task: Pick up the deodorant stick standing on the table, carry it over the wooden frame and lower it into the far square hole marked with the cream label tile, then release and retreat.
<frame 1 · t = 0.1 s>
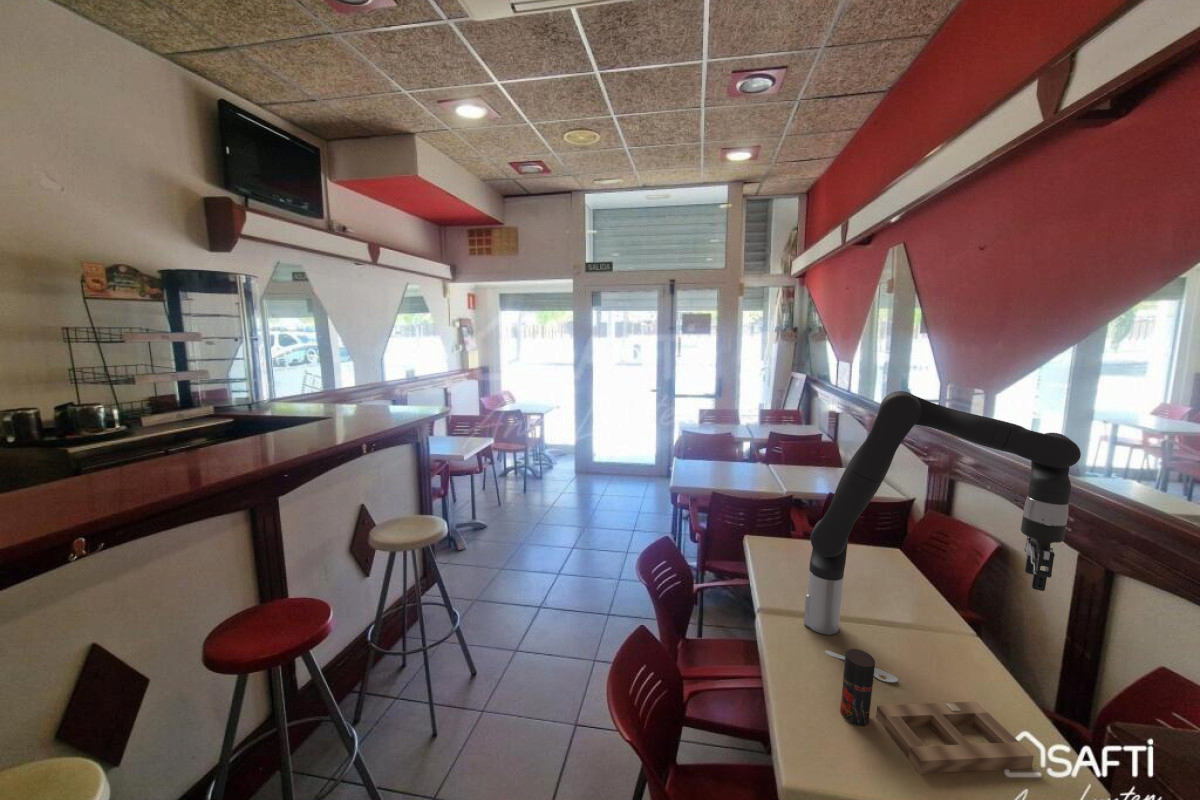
hand: (1034, 581, 113), 29 cm above the table, fingers open, 8 cm apart
spoon: (853, 666, 126), on the table
wooden frame: (949, 740, 102), on the table
deodorant: (854, 716, 109), on the table
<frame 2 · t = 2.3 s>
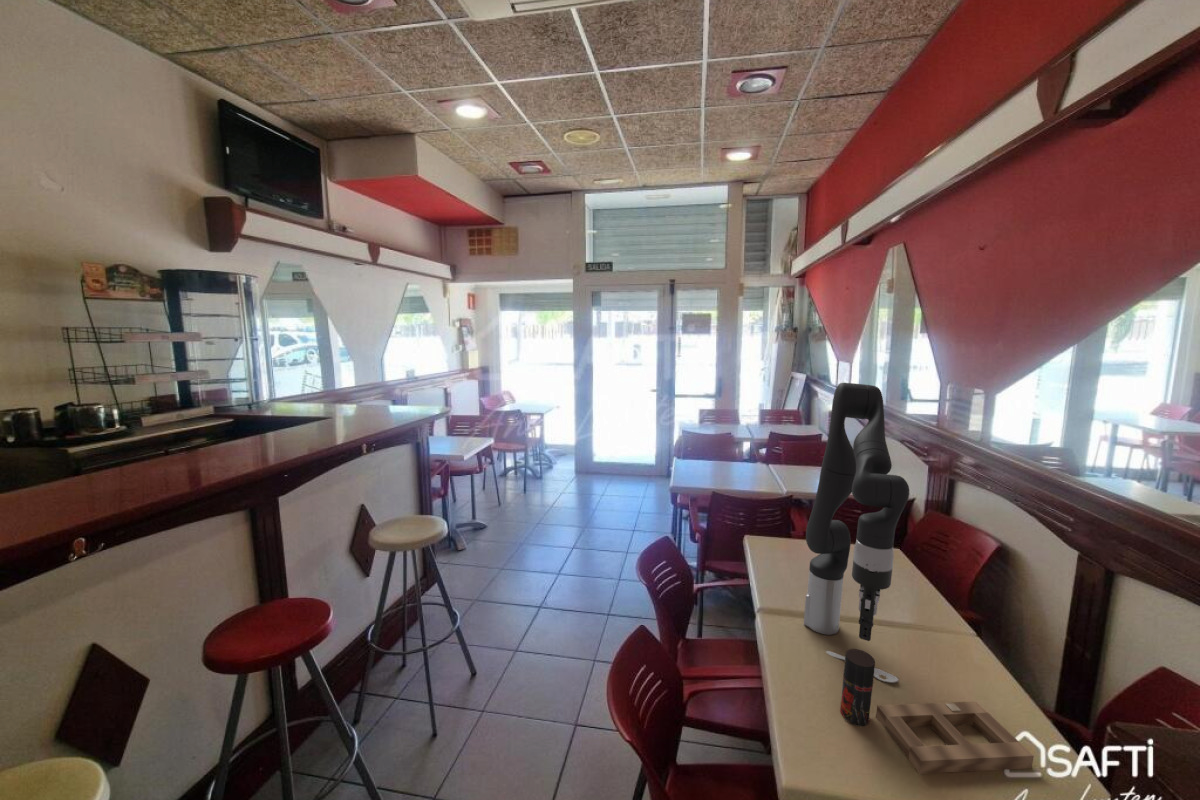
hand: (866, 628, 106), 22 cm above the table, fingers open, 8 cm apart
nothing on the table moved.
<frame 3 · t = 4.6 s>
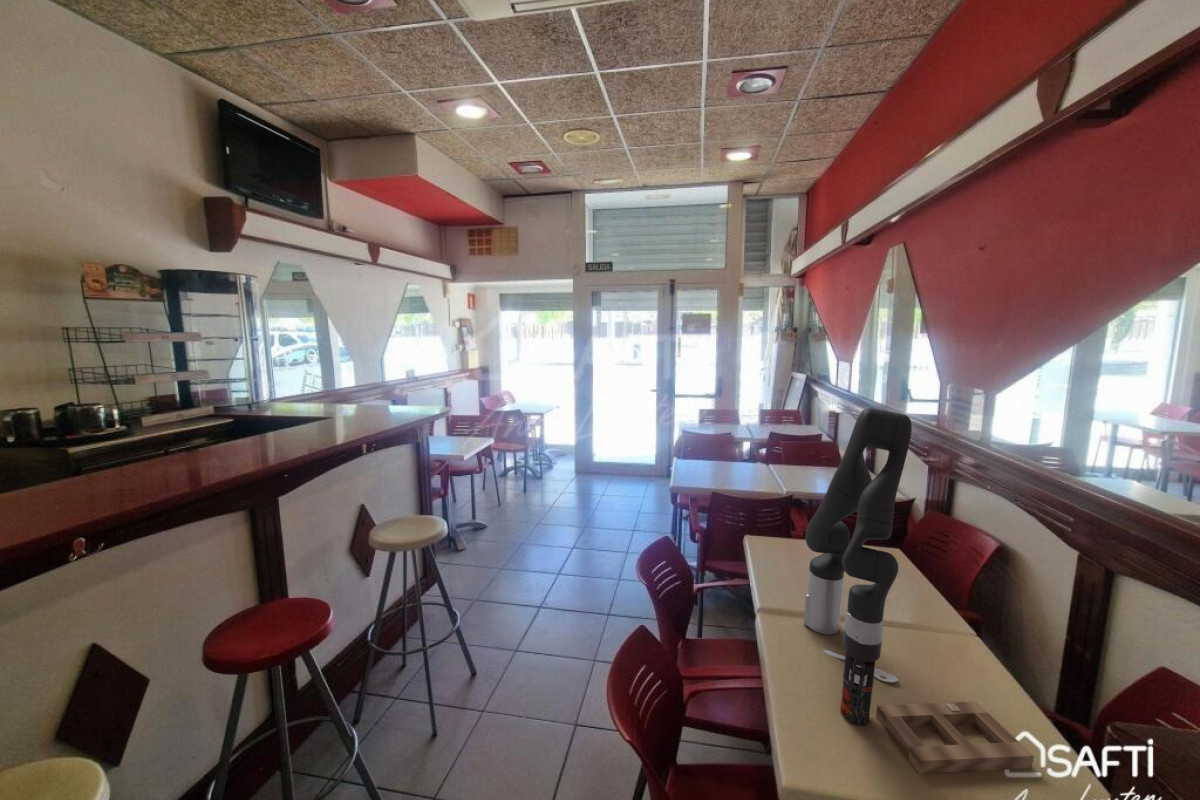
hand: (856, 698, 108), 5 cm above the table, fingers closed on deodorant, 6 cm apart
deodorant: (854, 716, 109), on the table, touching gripper
everything else where it was.
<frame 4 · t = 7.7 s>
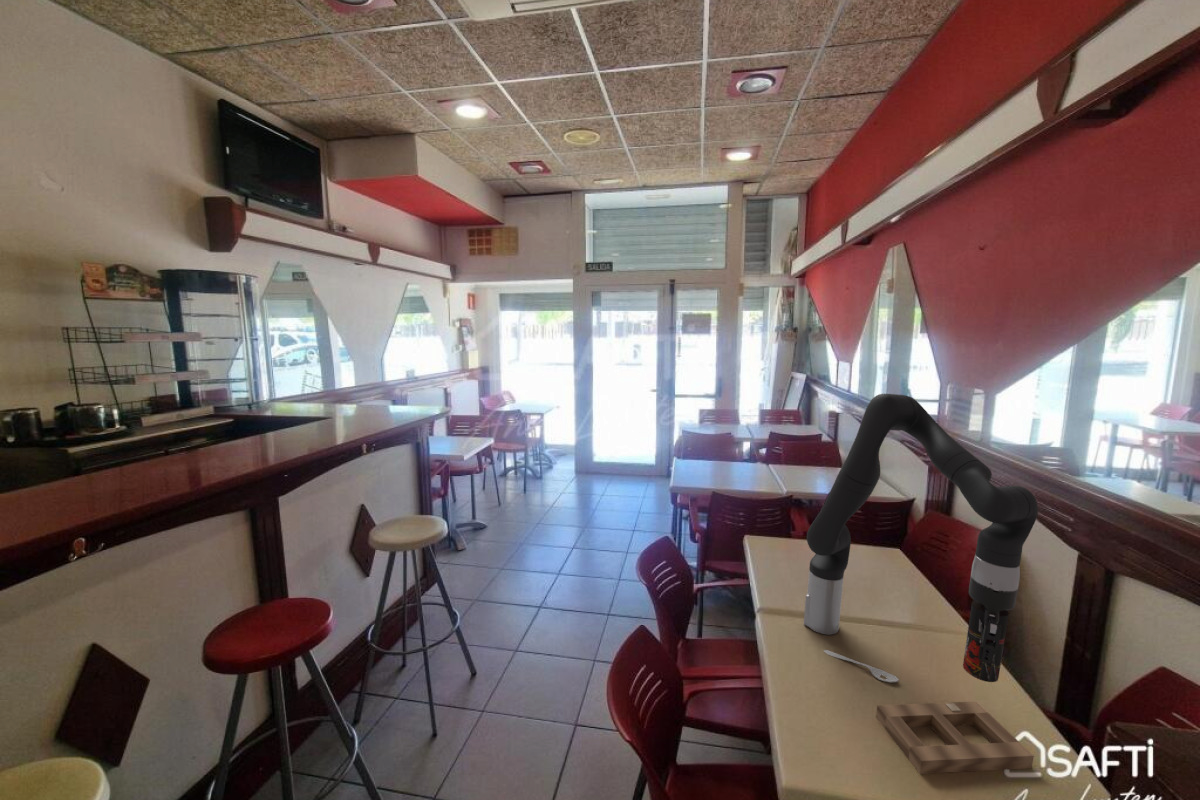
hand: (983, 652, 99), 21 cm above the table, fingers closed on deodorant, 6 cm apart
deodorant: (980, 672, 100), point 16 cm above the table, touching gripper
everything else where it was.
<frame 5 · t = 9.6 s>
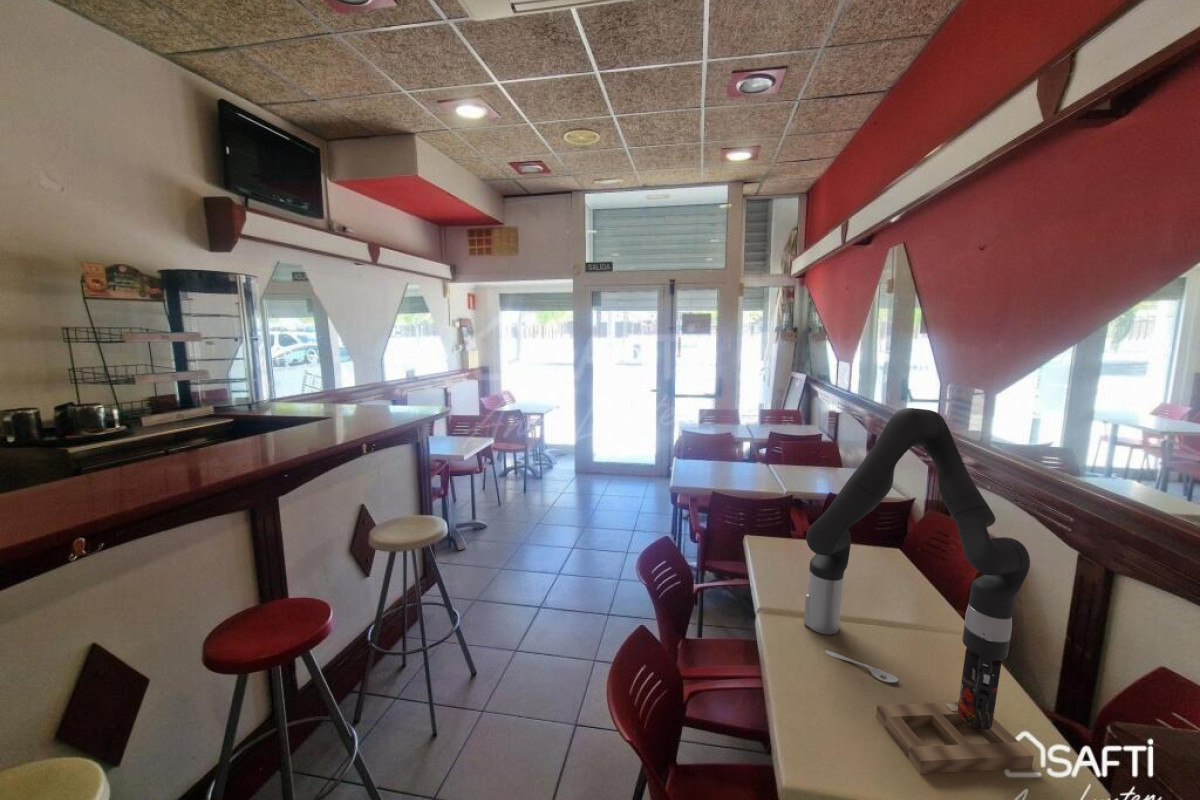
hand: (976, 699, 101), 10 cm above the table, fingers closed on deodorant, 6 cm apart
deodorant: (974, 718, 102), point 5 cm above the table, touching gripper
everything else where it was.
when the fingers open (6 cm above the table, at t = 11.0 s): deodorant drops 1 cm, resting in wooden frame.
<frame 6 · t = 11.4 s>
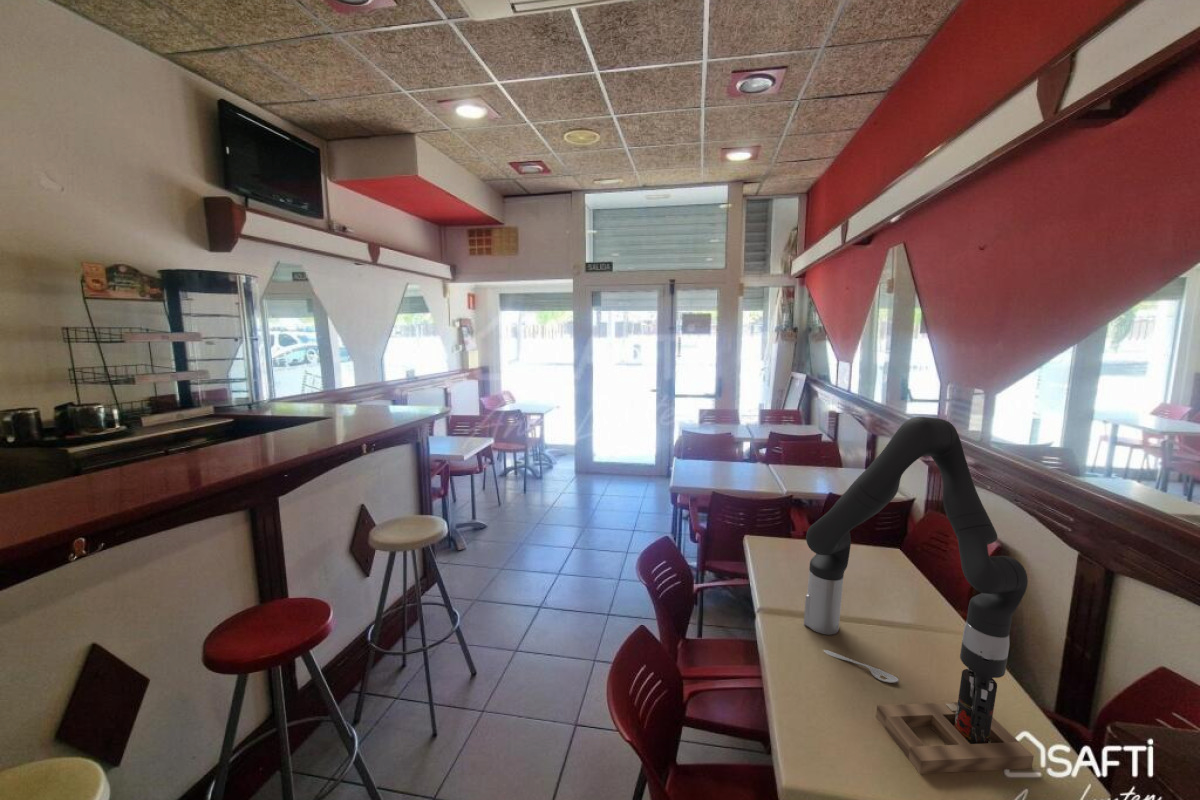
hand: (974, 713, 102), 7 cm above the table, fingers open, 8 cm apart
deodorant: (970, 740, 103), resting in wooden frame
everything else where it was.
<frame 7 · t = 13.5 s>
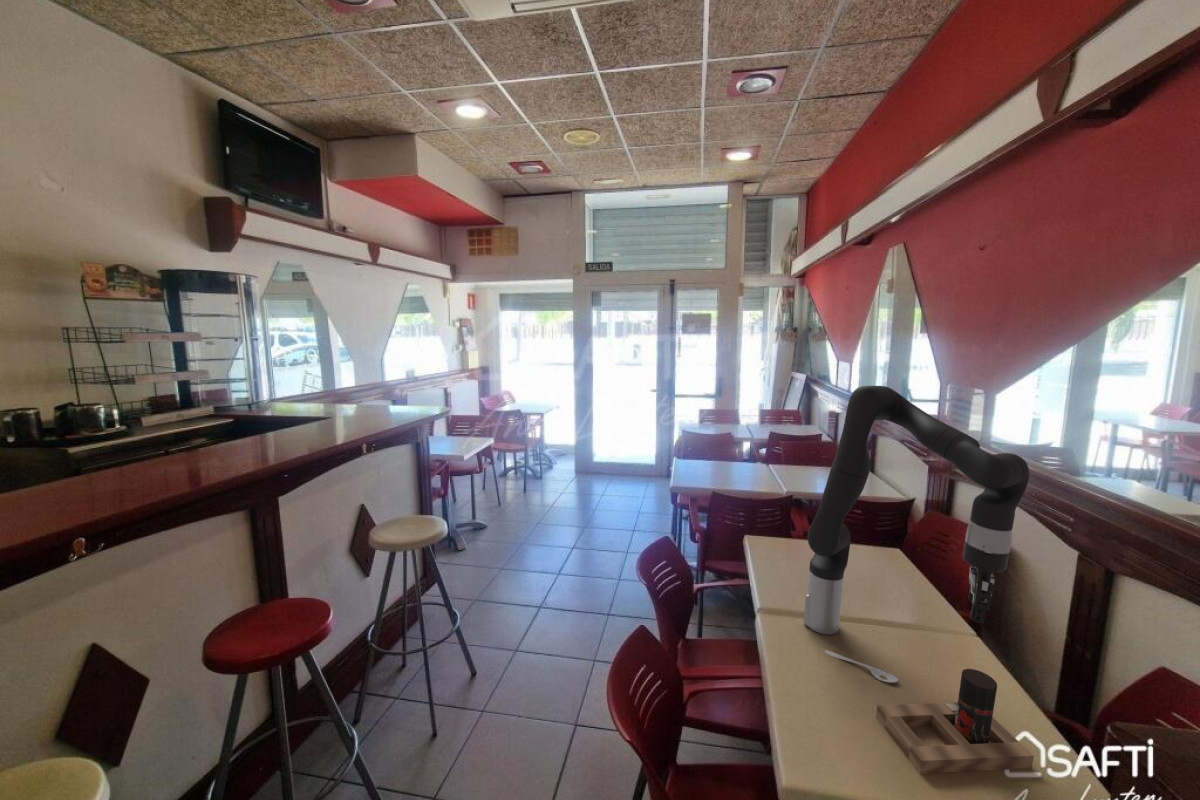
hand: (975, 611, 104), 27 cm above the table, fingers open, 8 cm apart
nothing on the table moved.
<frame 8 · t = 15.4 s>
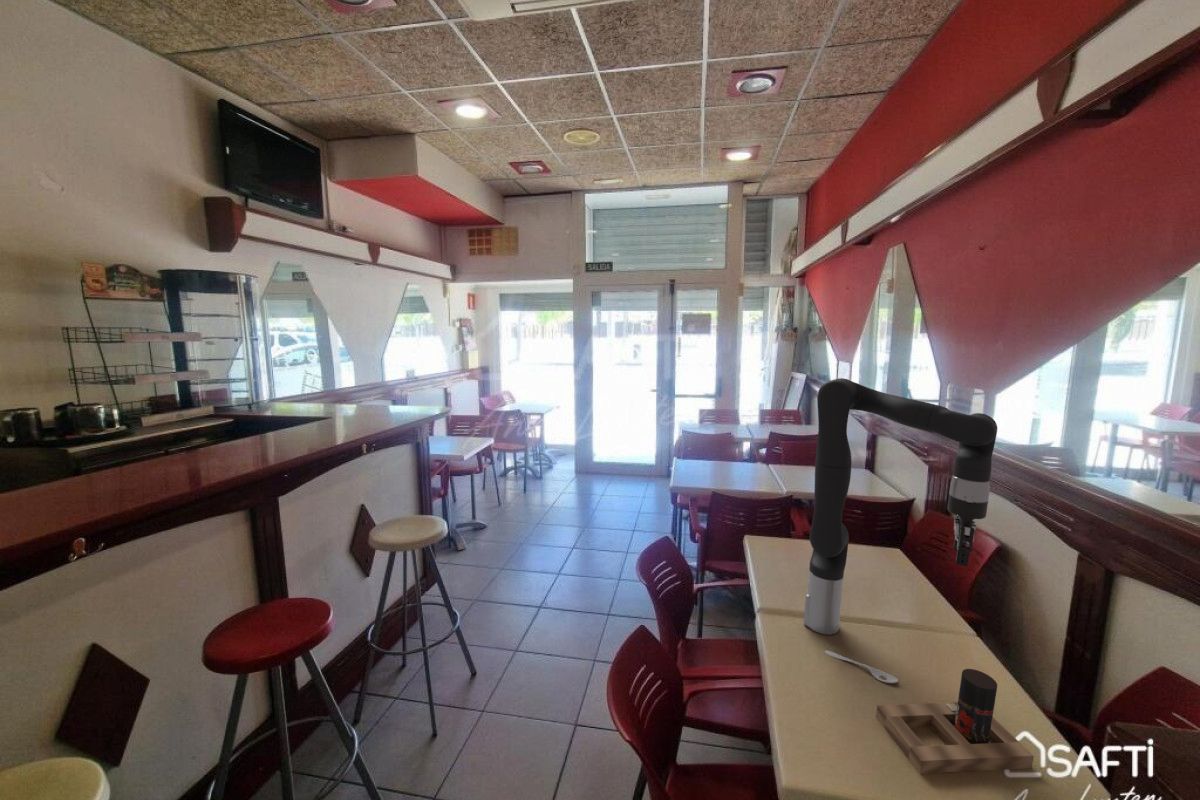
hand: (960, 557, 116), 33 cm above the table, fingers open, 8 cm apart
nothing on the table moved.
at the end: deodorant 0.1 cm from the target spot on the wooden frame, point 0.0 cm above the wooden frame's base; deodorant tilted 0°; the gripper is holding nothing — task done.
